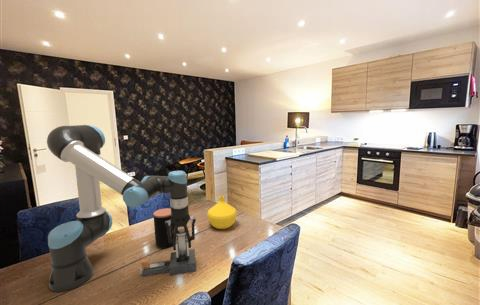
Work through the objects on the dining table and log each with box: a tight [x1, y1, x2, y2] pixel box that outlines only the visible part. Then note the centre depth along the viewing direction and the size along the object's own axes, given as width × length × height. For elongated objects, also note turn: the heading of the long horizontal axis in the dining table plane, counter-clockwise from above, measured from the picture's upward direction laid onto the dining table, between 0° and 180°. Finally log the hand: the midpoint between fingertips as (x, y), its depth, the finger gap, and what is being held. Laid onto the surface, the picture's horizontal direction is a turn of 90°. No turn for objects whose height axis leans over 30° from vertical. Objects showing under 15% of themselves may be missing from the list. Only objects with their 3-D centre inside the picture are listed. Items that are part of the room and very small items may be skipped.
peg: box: [176, 228, 188, 262], centre depth 101 cm, size 5×5×14 cm
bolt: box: [139, 257, 166, 275], centre depth 99 cm, size 10×2×5 cm, turn 104°
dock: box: [141, 248, 197, 277], centre depth 101 cm, size 22×11×4 cm, turn 104°
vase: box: [207, 195, 238, 230], centre depth 140 cm, size 18×18×19 cm
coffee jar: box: [152, 207, 175, 249], centre depth 120 cm, size 11×11×18 cm
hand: (182, 255), depth 102 cm, fingers closed on peg, 4 cm apart
